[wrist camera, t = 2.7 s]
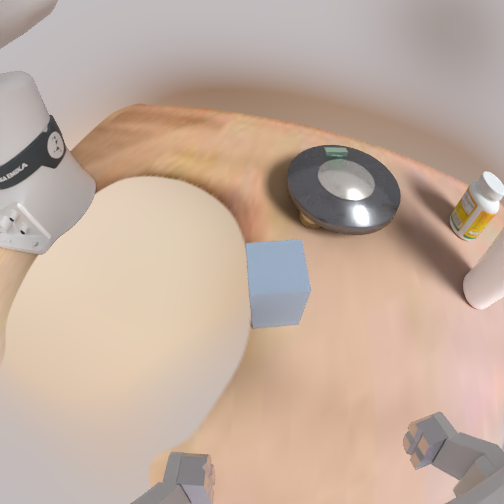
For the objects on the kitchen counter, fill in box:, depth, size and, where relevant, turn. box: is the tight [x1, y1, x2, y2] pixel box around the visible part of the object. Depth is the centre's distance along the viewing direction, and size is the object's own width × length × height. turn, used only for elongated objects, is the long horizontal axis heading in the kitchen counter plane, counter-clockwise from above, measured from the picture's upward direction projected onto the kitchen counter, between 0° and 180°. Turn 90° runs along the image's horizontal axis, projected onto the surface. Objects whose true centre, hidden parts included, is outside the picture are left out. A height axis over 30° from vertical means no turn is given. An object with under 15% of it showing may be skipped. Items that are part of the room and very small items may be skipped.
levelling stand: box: [287, 145, 400, 235], centre depth 33 cm, size 14×14×5 cm
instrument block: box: [246, 239, 311, 329], centre depth 24 cm, size 4×4×8 cm
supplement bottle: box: [450, 171, 504, 241], centre depth 28 cm, size 5×5×10 cm
